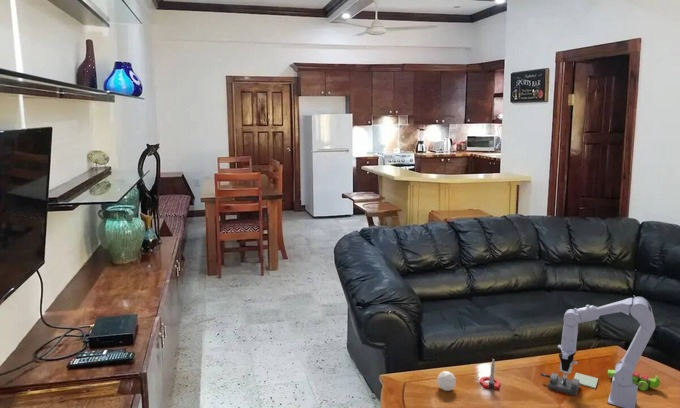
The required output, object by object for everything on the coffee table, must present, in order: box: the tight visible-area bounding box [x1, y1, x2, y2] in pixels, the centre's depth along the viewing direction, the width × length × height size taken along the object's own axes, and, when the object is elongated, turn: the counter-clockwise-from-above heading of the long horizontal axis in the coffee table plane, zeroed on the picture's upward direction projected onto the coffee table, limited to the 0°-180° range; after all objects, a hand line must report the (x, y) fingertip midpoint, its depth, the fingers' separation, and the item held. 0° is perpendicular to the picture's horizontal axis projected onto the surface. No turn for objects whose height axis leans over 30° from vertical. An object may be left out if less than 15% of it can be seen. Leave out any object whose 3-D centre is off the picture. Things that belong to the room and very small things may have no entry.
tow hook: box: [479, 358, 501, 390], centre depth 222 cm, size 8×13×9 cm
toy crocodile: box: [607, 369, 661, 391], centre depth 226 cm, size 20×7×6 cm, turn 56°
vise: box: [540, 372, 581, 397], centre depth 222 cm, size 15×9×6 cm, turn 58°
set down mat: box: [573, 372, 599, 390], centre depth 227 cm, size 9×9×1 cm
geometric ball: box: [436, 370, 457, 392], centre depth 217 cm, size 8×8×8 cm
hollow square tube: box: [559, 359, 579, 375], centre depth 219 cm, size 6×4×5 cm
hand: (565, 368), depth 220 cm, fingers closed on hollow square tube, 4 cm apart
